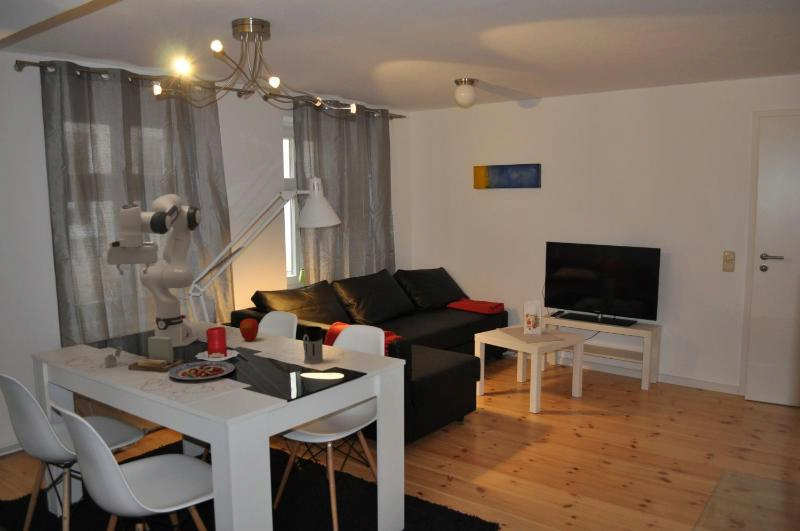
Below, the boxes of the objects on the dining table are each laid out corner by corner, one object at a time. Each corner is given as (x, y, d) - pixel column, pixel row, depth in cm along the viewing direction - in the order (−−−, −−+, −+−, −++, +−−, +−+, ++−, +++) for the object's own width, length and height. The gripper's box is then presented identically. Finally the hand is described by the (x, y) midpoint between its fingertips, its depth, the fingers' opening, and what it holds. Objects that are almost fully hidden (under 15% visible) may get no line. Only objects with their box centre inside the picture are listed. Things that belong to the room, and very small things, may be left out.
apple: (236, 341, 312) (235, 318, 311) (248, 337, 320) (247, 314, 319) (251, 343, 308) (250, 319, 307) (262, 339, 316) (262, 316, 315)
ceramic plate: (211, 362, 274) (210, 356, 274) (247, 373, 258) (247, 366, 257) (156, 376, 254) (155, 369, 254) (191, 388, 238) (191, 380, 238)
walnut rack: (147, 361, 275) (147, 357, 275) (183, 364, 270) (183, 360, 270) (128, 369, 263) (128, 365, 263) (165, 372, 258) (165, 367, 258)
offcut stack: (144, 367, 268) (143, 358, 268) (168, 368, 266) (168, 360, 265) (136, 370, 263) (136, 362, 263) (161, 371, 261) (160, 363, 260)
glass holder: (326, 359, 277) (326, 326, 275) (314, 368, 263) (313, 333, 262) (308, 358, 279) (307, 325, 277) (294, 367, 266) (294, 332, 264)
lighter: (106, 367, 266) (105, 349, 265) (105, 367, 267) (104, 348, 266) (123, 364, 271) (122, 346, 270) (121, 363, 272) (120, 345, 272)
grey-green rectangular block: (153, 363, 273) (152, 336, 271) (173, 364, 270) (172, 337, 269) (149, 365, 270) (147, 338, 269) (169, 366, 267) (168, 339, 266)
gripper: (158, 241, 274) (159, 272, 276) (107, 242, 269) (109, 274, 271) (156, 242, 268) (158, 274, 270) (105, 243, 263) (106, 276, 265)
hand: (133, 274), depth 270 cm, fingers open, 8 cm apart
